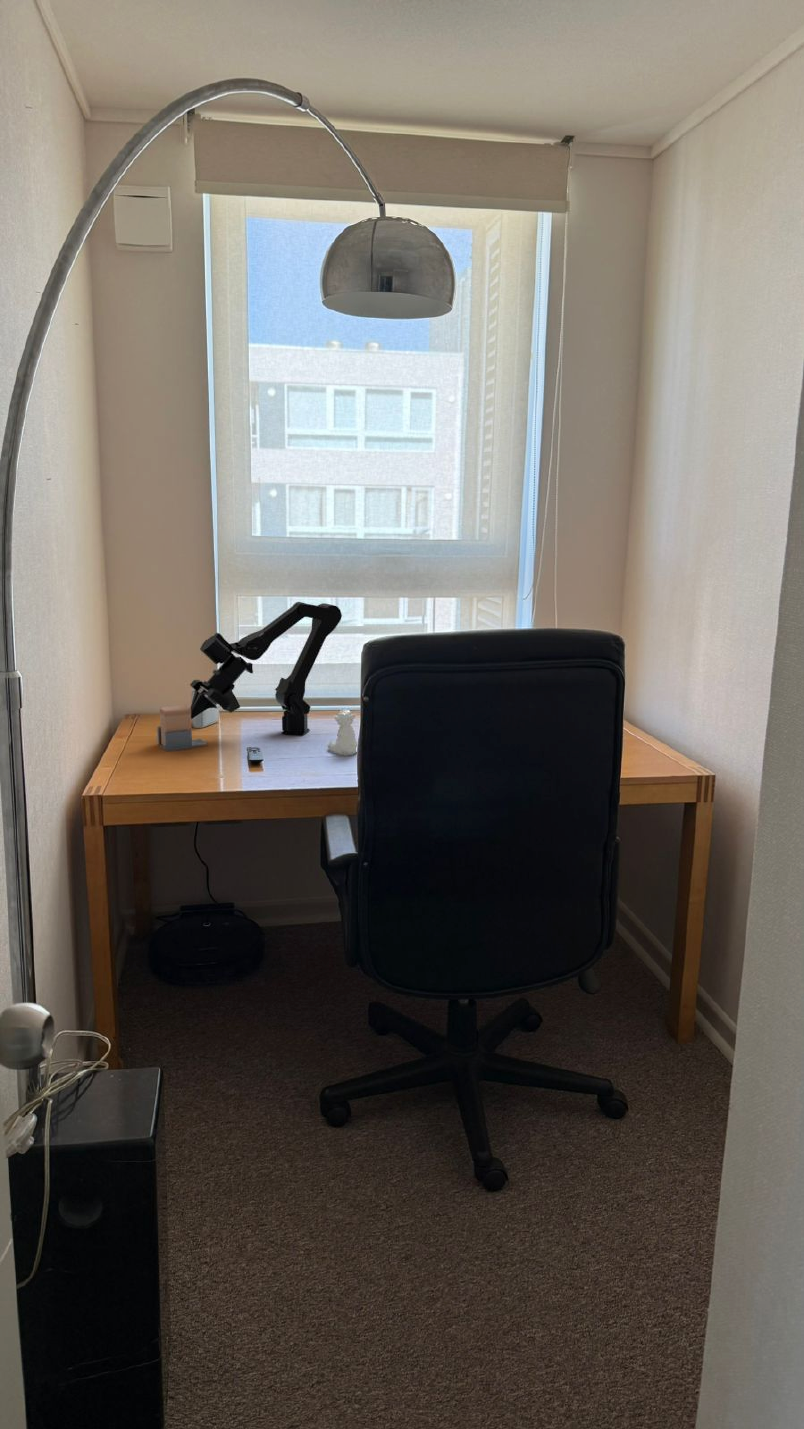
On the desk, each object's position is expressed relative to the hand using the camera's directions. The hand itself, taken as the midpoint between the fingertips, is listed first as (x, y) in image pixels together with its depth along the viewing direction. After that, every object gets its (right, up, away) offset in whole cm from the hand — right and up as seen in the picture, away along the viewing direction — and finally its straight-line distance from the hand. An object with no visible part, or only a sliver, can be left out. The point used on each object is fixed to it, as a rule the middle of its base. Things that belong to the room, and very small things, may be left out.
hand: (189, 717), depth 260 cm
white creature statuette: (+43, -9, -5) cm, 44 cm away
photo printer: (-1, -2, +25) cm, 25 cm away
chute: (-2, -8, +1) cm, 8 cm away
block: (-3, -8, 0) cm, 8 cm away
